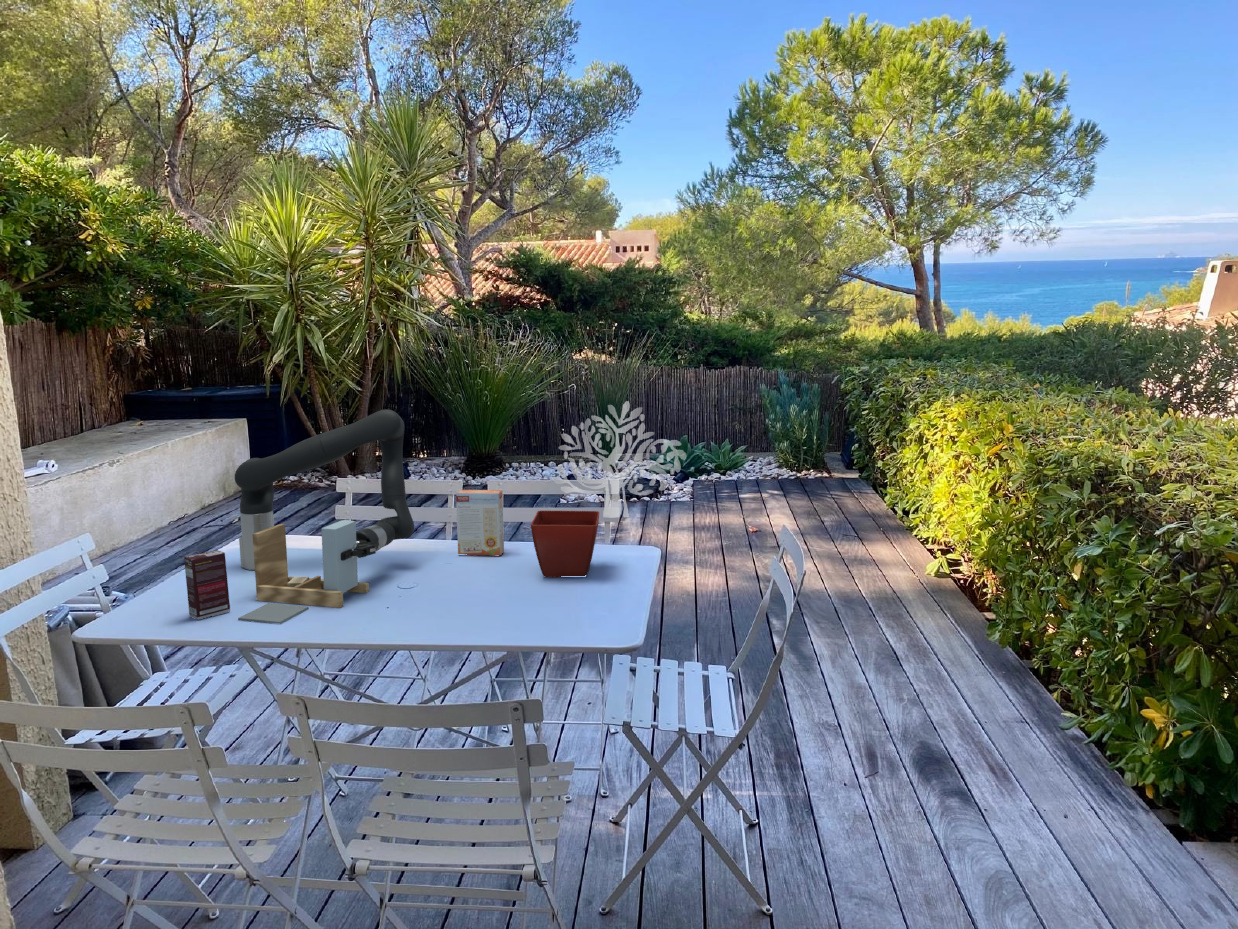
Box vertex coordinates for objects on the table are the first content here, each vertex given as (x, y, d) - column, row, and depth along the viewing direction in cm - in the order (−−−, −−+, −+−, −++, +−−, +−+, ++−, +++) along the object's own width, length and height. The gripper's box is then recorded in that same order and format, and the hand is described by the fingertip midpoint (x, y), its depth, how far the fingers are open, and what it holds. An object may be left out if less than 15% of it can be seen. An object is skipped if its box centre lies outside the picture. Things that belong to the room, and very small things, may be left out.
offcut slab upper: (287, 590, 232) (287, 583, 232) (295, 583, 238) (294, 576, 238) (302, 590, 232) (302, 583, 232) (309, 583, 238) (309, 576, 238)
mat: (238, 620, 214) (238, 618, 214) (268, 605, 226) (268, 603, 226) (280, 624, 211) (280, 622, 211) (308, 609, 223) (308, 606, 223)
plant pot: (597, 581, 247) (596, 524, 245) (531, 581, 248) (530, 524, 245) (599, 563, 266) (599, 510, 263) (538, 563, 266) (537, 510, 264)
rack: (253, 600, 230) (249, 535, 227) (286, 584, 244) (283, 523, 241) (340, 607, 224) (336, 540, 221) (369, 591, 238) (366, 528, 235)
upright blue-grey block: (324, 594, 227) (321, 528, 224) (344, 583, 236) (342, 520, 233) (337, 595, 226) (335, 529, 223) (357, 585, 235) (355, 521, 232)
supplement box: (221, 608, 223) (217, 549, 221) (230, 612, 220) (226, 552, 218) (187, 617, 217) (183, 556, 214) (196, 621, 214) (191, 559, 211)
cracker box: (504, 552, 279) (503, 489, 276) (500, 557, 273) (498, 493, 270) (462, 551, 281) (460, 488, 277) (457, 556, 275) (455, 492, 272)
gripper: (345, 526, 244) (309, 540, 228) (390, 529, 241) (357, 544, 224) (345, 551, 245) (310, 567, 229) (390, 555, 242) (358, 572, 226)
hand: (334, 556), depth 227 cm, fingers closed on upright blue-grey block, 4 cm apart
